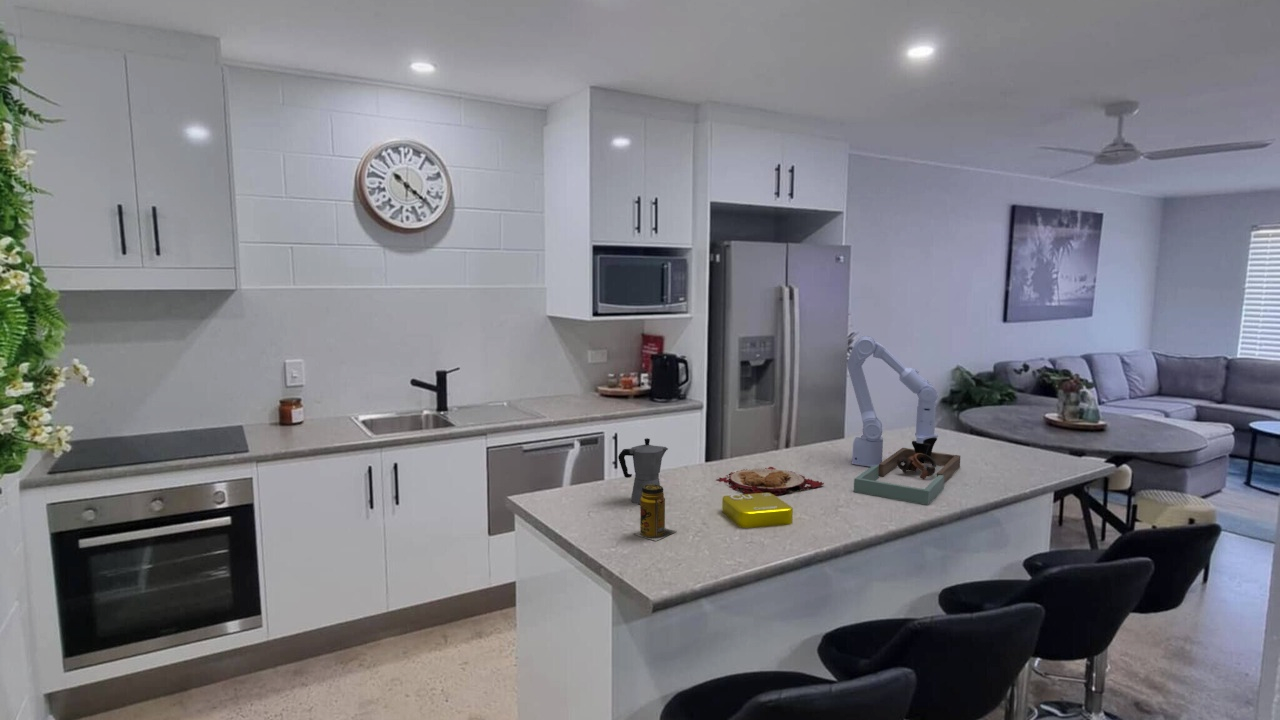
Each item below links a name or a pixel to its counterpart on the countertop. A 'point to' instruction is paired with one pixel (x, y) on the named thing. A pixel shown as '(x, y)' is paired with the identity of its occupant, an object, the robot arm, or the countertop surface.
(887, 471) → the brown wooden frame
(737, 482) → the plate with food
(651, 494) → the condiment
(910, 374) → the robot arm
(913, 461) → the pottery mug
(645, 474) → the coffeepot
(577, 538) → the countertop surface
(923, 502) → the frame
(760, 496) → the element tile
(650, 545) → the countertop surface
